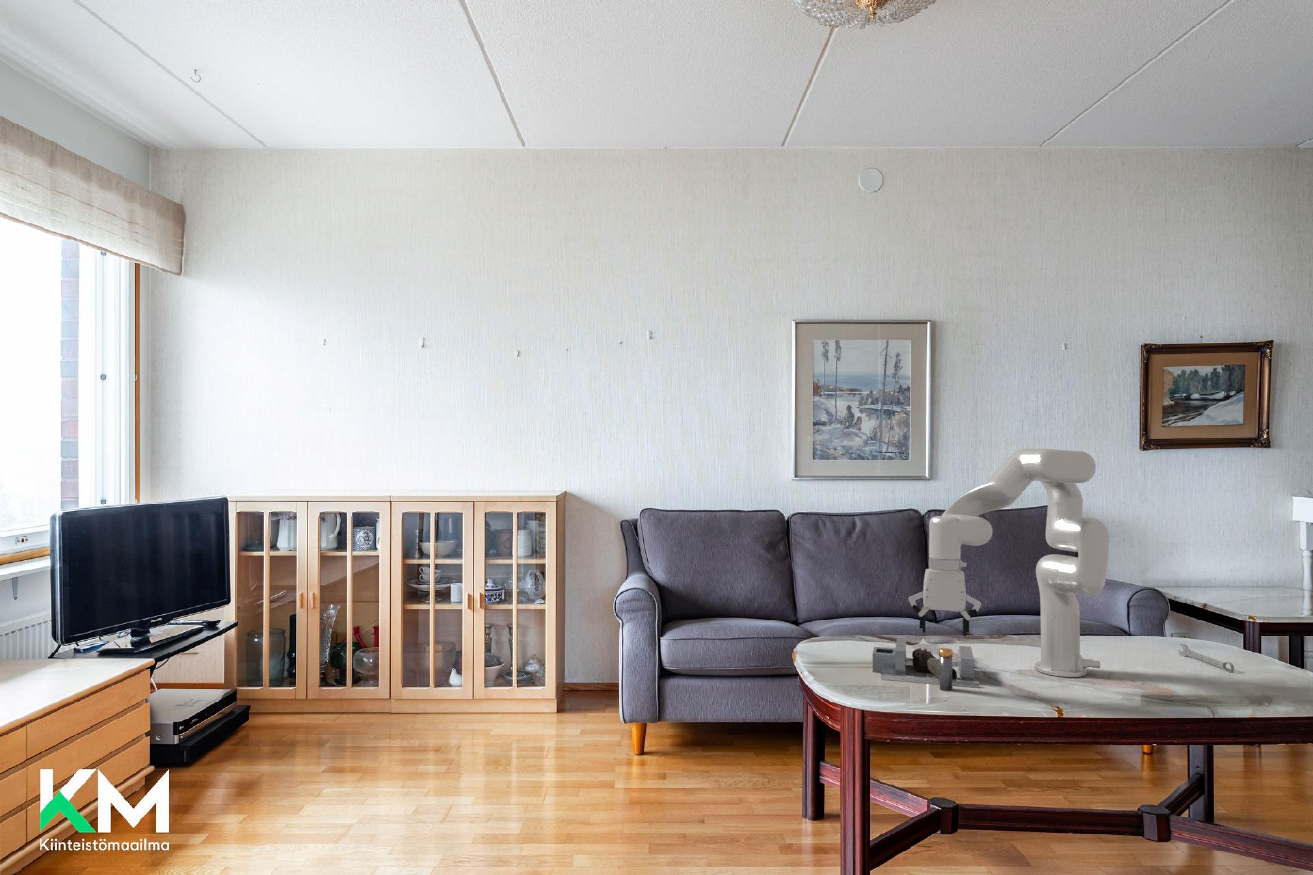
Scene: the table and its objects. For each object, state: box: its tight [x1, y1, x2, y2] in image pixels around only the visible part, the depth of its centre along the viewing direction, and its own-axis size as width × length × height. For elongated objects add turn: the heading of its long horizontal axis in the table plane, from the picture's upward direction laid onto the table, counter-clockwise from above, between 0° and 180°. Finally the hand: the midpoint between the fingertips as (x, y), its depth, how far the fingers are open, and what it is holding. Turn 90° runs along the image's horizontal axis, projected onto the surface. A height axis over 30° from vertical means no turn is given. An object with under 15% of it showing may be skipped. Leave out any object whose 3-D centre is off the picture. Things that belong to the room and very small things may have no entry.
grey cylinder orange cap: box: [938, 647, 954, 692], centre depth 198 cm, size 3×3×10 cm
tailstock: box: [872, 638, 907, 676], centre depth 215 cm, size 8×14×7 cm, turn 161°
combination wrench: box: [1177, 643, 1235, 673], centre depth 222 cm, size 4×1×20 cm
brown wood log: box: [911, 647, 958, 680], centre depth 212 cm, size 18×7×6 cm, turn 6°
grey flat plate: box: [880, 656, 980, 689], centre depth 212 cm, size 24×20×1 cm
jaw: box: [957, 645, 975, 681], centre depth 209 cm, size 3×14×6 cm, turn 161°
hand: (944, 633), depth 198 cm, fingers open, 9 cm apart
